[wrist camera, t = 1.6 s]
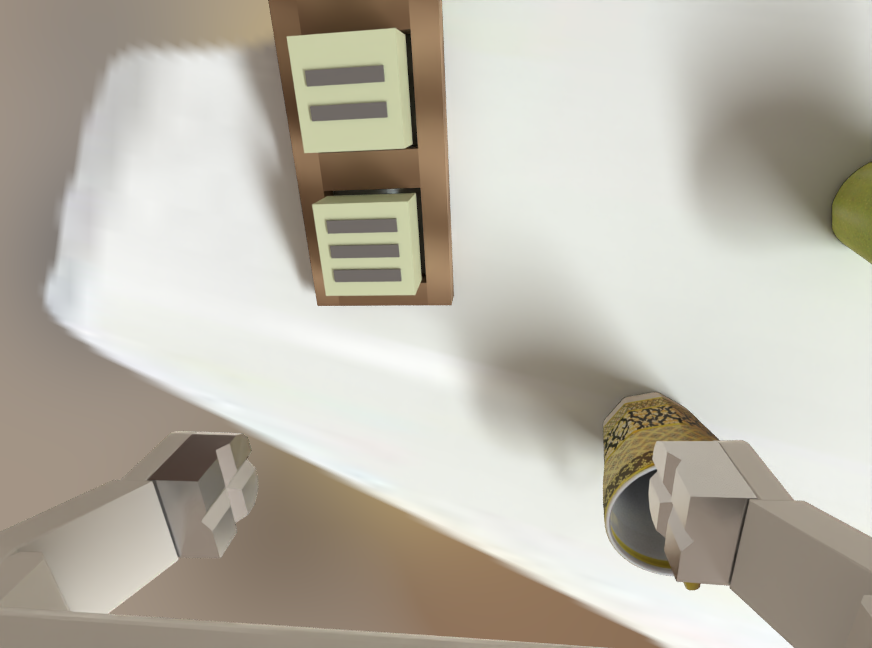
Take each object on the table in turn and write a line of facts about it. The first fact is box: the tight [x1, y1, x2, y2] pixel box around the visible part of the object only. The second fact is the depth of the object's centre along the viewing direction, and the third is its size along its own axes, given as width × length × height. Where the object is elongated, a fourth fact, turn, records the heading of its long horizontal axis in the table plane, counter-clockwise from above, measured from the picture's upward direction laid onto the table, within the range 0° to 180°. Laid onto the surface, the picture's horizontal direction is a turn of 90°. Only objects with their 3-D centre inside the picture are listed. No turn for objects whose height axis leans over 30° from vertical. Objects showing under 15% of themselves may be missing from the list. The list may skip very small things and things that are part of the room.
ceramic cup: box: [603, 392, 720, 590], centre depth 36 cm, size 13×10×10 cm
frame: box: [268, 0, 454, 306], centre depth 31 cm, size 28×10×2 cm, turn 3°
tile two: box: [287, 28, 413, 153], centre depth 29 cm, size 6×6×3 cm
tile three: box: [312, 193, 422, 296], centre depth 33 cm, size 6×6×3 cm
